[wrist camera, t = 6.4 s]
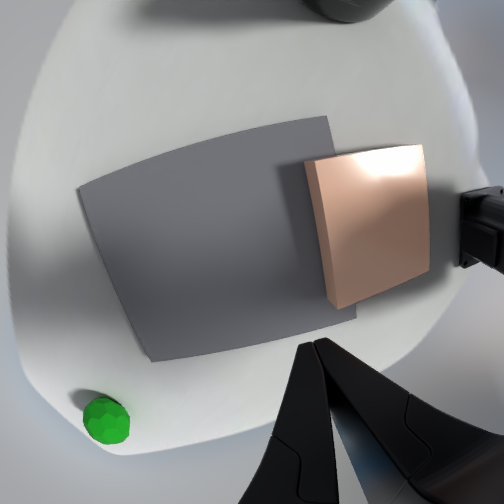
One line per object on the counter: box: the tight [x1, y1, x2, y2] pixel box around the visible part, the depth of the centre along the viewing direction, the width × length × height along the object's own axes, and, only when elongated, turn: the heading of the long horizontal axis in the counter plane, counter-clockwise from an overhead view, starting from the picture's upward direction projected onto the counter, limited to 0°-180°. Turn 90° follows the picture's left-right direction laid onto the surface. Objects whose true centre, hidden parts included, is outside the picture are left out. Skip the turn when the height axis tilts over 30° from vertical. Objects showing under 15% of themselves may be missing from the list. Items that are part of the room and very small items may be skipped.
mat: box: [79, 116, 357, 362], centre depth 17 cm, size 16×14×1 cm
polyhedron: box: [83, 398, 130, 445], centre depth 20 cm, size 5×5×5 cm
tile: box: [304, 145, 430, 310], centre depth 16 cm, size 2×9×8 cm
